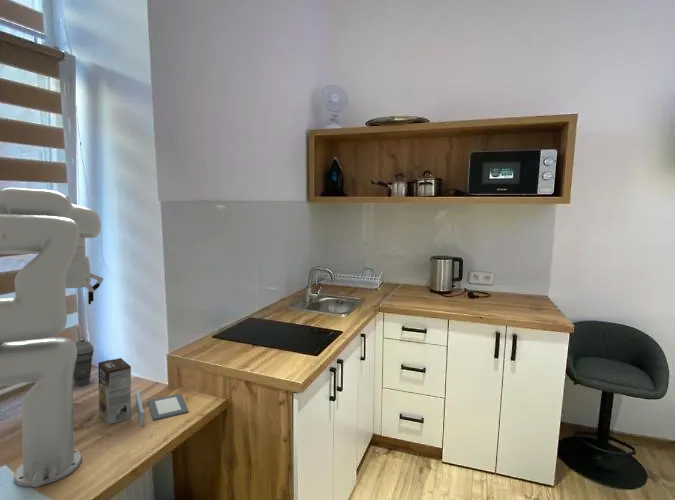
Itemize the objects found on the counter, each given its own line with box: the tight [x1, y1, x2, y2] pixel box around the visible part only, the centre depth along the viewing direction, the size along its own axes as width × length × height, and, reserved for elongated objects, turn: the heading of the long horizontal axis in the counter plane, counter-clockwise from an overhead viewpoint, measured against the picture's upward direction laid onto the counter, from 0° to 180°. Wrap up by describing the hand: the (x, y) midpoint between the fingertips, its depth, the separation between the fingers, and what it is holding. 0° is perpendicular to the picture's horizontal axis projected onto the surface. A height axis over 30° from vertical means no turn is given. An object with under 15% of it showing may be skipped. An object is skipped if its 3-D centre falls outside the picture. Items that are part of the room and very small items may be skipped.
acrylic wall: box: [135, 389, 145, 427], centre depth 114 cm, size 16×1×4 cm, turn 33°
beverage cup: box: [73, 328, 95, 387], centre depth 132 cm, size 7×7×20 cm
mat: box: [147, 393, 189, 421], centre depth 119 cm, size 13×10×1 cm
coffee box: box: [98, 357, 132, 425], centre depth 112 cm, size 9×6×16 cm
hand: (71, 304), depth 121 cm, fingers open, 9 cm apart
